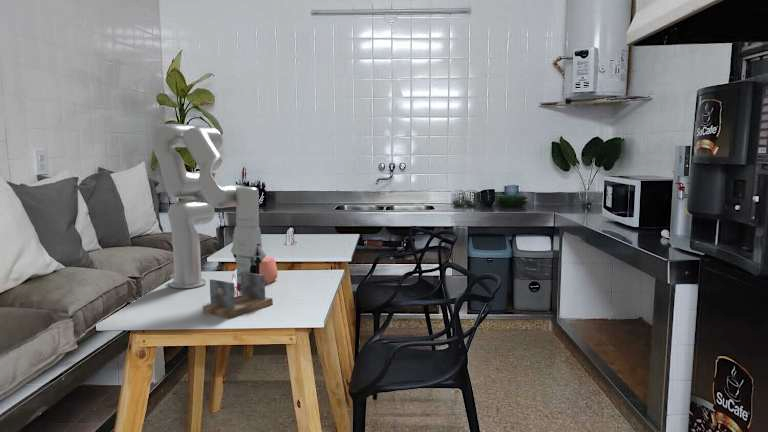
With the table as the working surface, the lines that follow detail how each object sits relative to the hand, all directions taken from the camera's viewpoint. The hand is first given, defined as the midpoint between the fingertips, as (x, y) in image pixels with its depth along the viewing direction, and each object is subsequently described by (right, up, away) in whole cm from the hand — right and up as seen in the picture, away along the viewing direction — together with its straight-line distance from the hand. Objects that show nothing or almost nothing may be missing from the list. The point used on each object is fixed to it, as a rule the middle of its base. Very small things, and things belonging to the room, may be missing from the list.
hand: (248, 273), depth 198 cm
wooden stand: (+1, -9, -16) cm, 19 cm away
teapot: (0, -5, +20) cm, 21 cm away
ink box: (0, -5, +1) cm, 5 cm away
